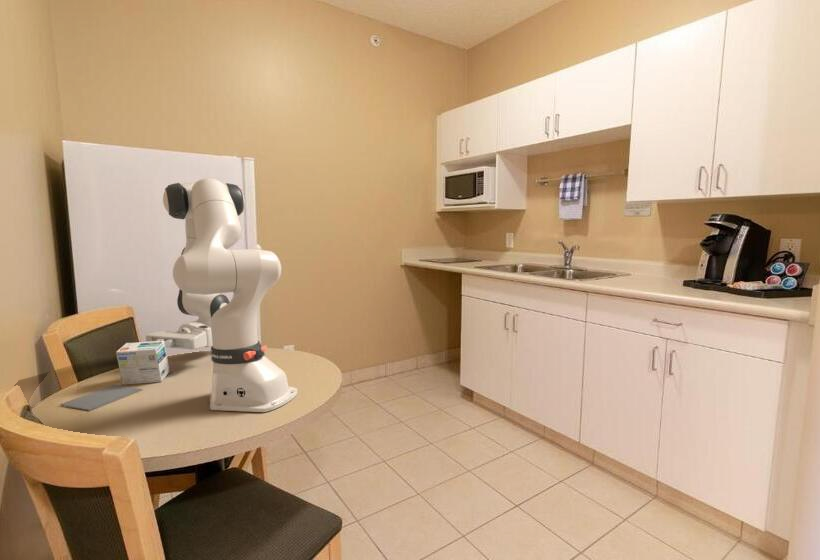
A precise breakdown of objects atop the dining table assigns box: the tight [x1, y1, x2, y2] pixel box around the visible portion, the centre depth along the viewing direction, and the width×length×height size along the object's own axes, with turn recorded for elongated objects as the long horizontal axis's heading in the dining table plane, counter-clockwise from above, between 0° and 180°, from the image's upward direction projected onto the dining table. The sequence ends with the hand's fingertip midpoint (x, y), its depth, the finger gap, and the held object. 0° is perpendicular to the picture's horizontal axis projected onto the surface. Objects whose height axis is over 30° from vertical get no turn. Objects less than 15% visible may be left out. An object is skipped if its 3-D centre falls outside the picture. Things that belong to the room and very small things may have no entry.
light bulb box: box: [115, 340, 170, 386], centre depth 120 cm, size 11×7×11 cm, turn 102°
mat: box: [59, 384, 144, 412], centre depth 108 cm, size 11×14×1 cm
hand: (154, 346), depth 123 cm, fingers closed
